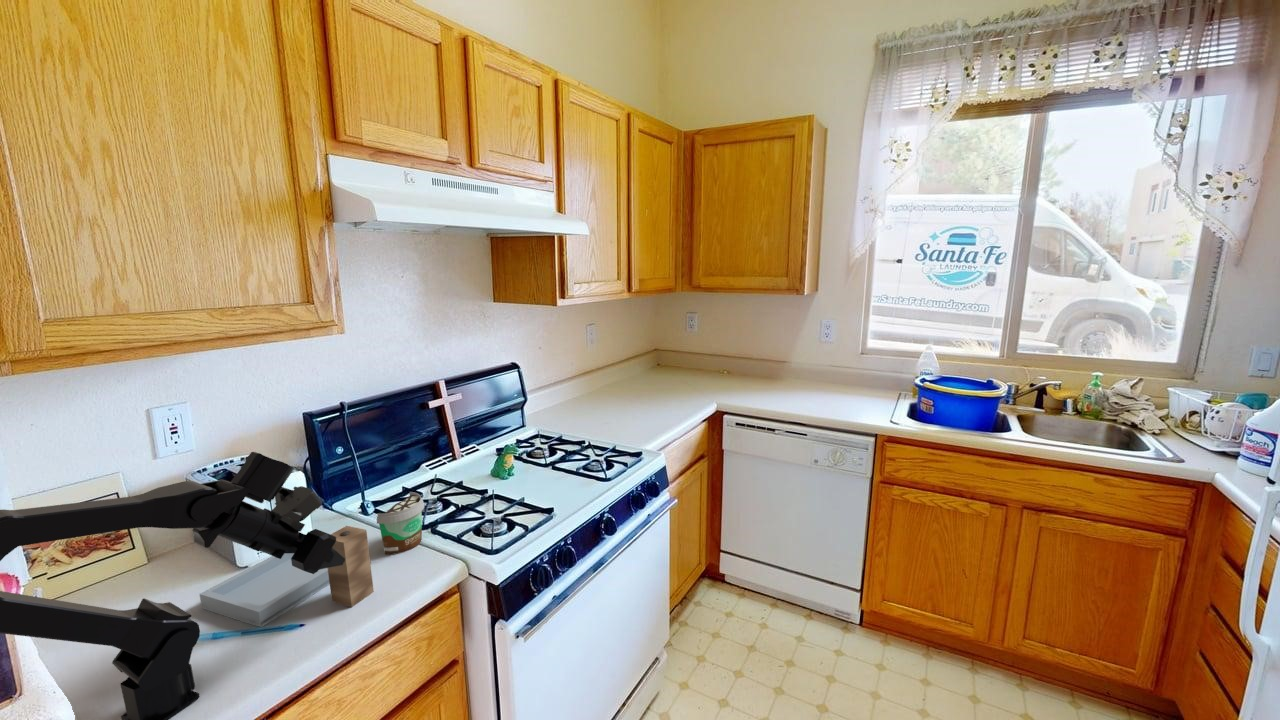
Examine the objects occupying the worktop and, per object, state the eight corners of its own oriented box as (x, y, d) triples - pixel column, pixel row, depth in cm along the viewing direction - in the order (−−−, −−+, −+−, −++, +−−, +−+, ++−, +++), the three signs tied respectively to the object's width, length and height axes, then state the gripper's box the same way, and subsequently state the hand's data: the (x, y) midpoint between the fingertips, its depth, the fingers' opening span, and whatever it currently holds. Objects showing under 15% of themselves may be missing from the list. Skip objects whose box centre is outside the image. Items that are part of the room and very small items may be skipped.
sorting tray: (261, 627, 94) (258, 611, 93) (202, 608, 99) (199, 593, 99) (356, 566, 112) (355, 553, 111) (302, 553, 117) (300, 541, 117)
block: (351, 607, 99) (343, 541, 96) (332, 601, 100) (323, 537, 98) (373, 591, 103) (366, 529, 101) (354, 586, 105) (346, 525, 103)
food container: (405, 560, 114) (401, 516, 112) (380, 557, 115) (375, 514, 114) (438, 532, 126) (434, 492, 124) (415, 530, 127) (411, 490, 125)
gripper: (316, 490, 85) (385, 524, 96) (253, 470, 94) (324, 503, 105) (270, 559, 79) (350, 586, 91) (208, 532, 88) (288, 559, 100)
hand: (327, 555), depth 97 cm, fingers open, 9 cm apart
